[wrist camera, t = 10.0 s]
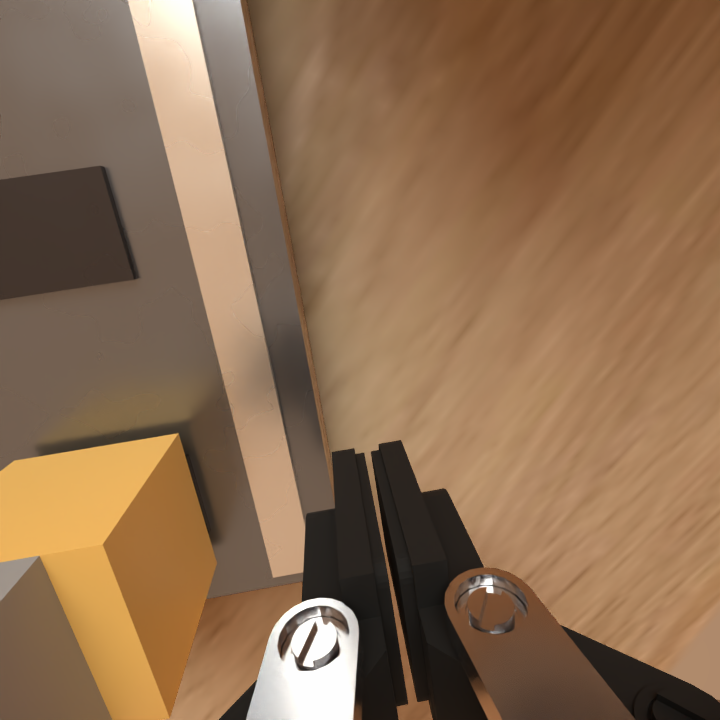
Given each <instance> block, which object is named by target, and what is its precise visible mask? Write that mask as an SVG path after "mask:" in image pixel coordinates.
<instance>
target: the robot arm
mask: <svg viewBox="0 0 720 720" xmlns="http://www.w3.org/2000/svg"><path fill="white" fill-rule="evenodd" d="M371 456H372V462H373V468H374V475H375V481H376V488H377V494H378V501H379V507H380V513H381V520H382V526H383V533H384V539H385V545H386V551H387V557H388V562H389V566H390V571H391V576H392V581H393V586H394V591H395V596H396V600H397V605H398V610H399V615H400V620H401V625H402V630H403V634H404V639H405V644H406V649H407V654H408V659H409V664H410V669H411V673H412V678H413V683H414V688H415V693H416V697H417V701H418V702H421V701H426V700H429V704H430V709H431V713H432V717H433V720H720V700H716V699H715V698H713V697H712V696H711V695H709V694H707V693H706V692H704V691H702V690H700V689H699V688H697V687H695V686H693V685H691V684H689V683H687V682H685V681H683V680H681V679H678V678H676V677H674V676H672V675H670V674H667V673H665V672H663V671H661V670H659V669H656V668H654V667H652V666H650V665H647V664H645V663H643V662H641V661H639V660H636V659H634V658H632V657H630V656H628V655H625V654H623V653H621V652H619V651H617V650H614V649H612V648H610V647H608V646H606V645H603V644H601V643H599V642H597V641H595V640H592V639H590V638H588V637H586V636H584V635H581V634H579V633H577V632H575V631H572V630H570V629H568V628H566V627H564V626H561V625H560V624H559V623H558V622H557V621H556V619H555V618H554V617H553V616H552V614H551V613H550V612H549V611H548V609H547V608H546V607H545V606H544V604H543V603H542V602H541V601H540V599H539V598H538V597H537V596H536V594H535V593H534V592H533V591H532V589H531V588H530V587H529V586H528V585H527V584H526V583H525V582H523V581H522V580H521V579H520V578H518V577H516V576H515V575H513V574H511V573H509V572H506V571H503V570H499V569H496V568H484V566H483V564H482V562H481V560H480V558H479V556H478V554H477V552H476V550H475V548H474V545H473V543H472V541H471V539H470V537H469V535H468V533H467V531H466V529H465V527H464V525H463V523H462V521H461V519H460V517H459V514H458V512H457V510H456V508H455V506H454V504H453V502H452V500H451V498H450V496H449V494H448V492H447V490H446V489H439V490H433V491H428V492H422V493H421V491H420V488H419V486H418V483H417V481H416V478H415V475H414V473H413V470H412V468H411V465H410V462H409V460H408V457H407V454H406V452H405V449H404V447H403V444H402V442H401V440H399V441H393V442H388V443H382V444H379V450H377V451H371ZM332 463H333V482H334V500H335V508H333V509H328V510H322V511H317V512H311V513H307V514H306V524H305V545H304V566H303V587H302V603H300V604H298V605H296V606H294V607H293V608H292V609H290V610H289V611H288V612H286V613H285V614H284V615H283V616H282V617H281V618H280V620H279V621H278V622H277V623H276V625H275V626H274V628H273V630H272V633H271V635H270V637H269V640H268V643H267V647H266V651H265V654H264V658H263V661H262V665H261V668H260V672H259V675H258V679H257V680H256V681H255V682H254V683H253V684H252V686H251V687H250V688H249V689H248V690H247V691H246V692H245V693H244V694H243V695H242V696H241V697H240V698H239V699H238V700H237V701H236V702H235V703H234V704H233V705H232V706H231V707H230V708H229V709H228V711H227V712H226V713H225V714H224V715H223V716H222V717H221V718H220V719H219V720H398V713H397V707H396V706H401V705H406V704H408V700H407V693H406V687H405V681H404V674H403V668H402V662H401V655H400V649H399V643H398V636H397V630H396V624H395V617H394V611H393V605H392V598H391V592H390V586H389V580H388V574H387V568H386V563H385V557H384V552H383V547H382V542H381V537H380V532H379V527H378V522H377V517H376V512H375V506H374V501H373V496H372V491H371V486H370V481H369V476H368V471H367V466H366V461H365V456H364V453H360V454H355V450H354V448H353V449H348V450H342V451H336V452H332Z"/></svg>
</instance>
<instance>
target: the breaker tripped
mask: <svg viewBox="0 0 720 720" xmlns="http://www.w3.org/2000/svg"><path fill="white" fill-rule="evenodd" d="M216 565H217V561H216V558H215V555H214V551H213V548H212V544H211V541H210V538H209V534H208V531H207V528H206V524H205V521H204V517H203V514H202V511H201V507H200V504H199V501H198V497H197V494H196V490H195V487H194V484H193V480H192V477H191V474H190V470H189V467H188V463H187V460H186V457H185V453H184V450H183V446H182V443H181V440H180V436H179V433H177V434H171V435H165V436H159V437H153V438H147V439H141V440H135V441H129V442H123V443H117V444H111V445H105V446H99V447H93V448H87V449H81V450H75V451H69V452H63V453H57V454H51V455H45V456H39V457H33V458H27V459H21V460H15V461H13V462H12V463H10V464H9V465H8V466H7V467H5V468H4V469H3V470H1V471H0V720H163V719H168V718H170V716H171V712H172V709H173V706H174V703H175V699H176V696H177V693H178V689H179V686H180V683H181V680H182V676H183V673H184V670H185V667H186V663H187V660H188V657H189V653H190V650H191V647H192V644H193V640H194V637H195V634H196V630H197V627H198V624H199V621H200V617H201V614H202V611H203V607H204V604H205V601H206V598H207V594H208V591H209V588H210V585H211V581H212V578H213V575H214V571H215V568H216Z"/></svg>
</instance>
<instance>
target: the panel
mask: <svg viewBox="0 0 720 720" xmlns="http://www.w3.org/2000/svg"><path fill="white" fill-rule="evenodd" d="M177 433H179V436H180V440H181V443H182V446H183V450H184V453H185V457H186V460H187V463H188V467H189V470H190V474H191V477H192V480H193V484H194V487H195V490H196V494H197V497H198V501H199V504H200V507H201V511H202V514H203V517H204V521H205V524H206V528H207V531H208V534H209V538H210V541H211V544H212V548H213V551H214V555H215V558H216V561H217V565H216V568H215V571H214V575H213V578H212V581H211V585H210V588H209V591H208V594H207V598H206V599H209V598H215V597H220V596H226V595H231V594H237V593H242V592H247V591H253V590H258V589H264V588H269V587H275V586H280V585H286V584H291V583H297V582H302V581H303V566H304V545H305V524H306V514H307V513H311V512H317V511H322V510H328V509H333V508H335V500H334V482H333V467H332V462H331V456H330V451H329V445H328V440H327V434H326V429H325V424H324V418H323V413H322V407H321V402H320V396H319V391H318V385H317V380H316V374H315V369H314V364H313V358H312V353H311V347H310V342H309V336H308V331H307V325H306V320H305V314H304V309H303V304H302V298H301V293H300V287H299V282H298V276H297V271H296V265H295V260H294V254H293V249H292V244H291V238H290V233H289V227H288V222H287V216H286V211H285V205H284V200H283V194H282V189H281V184H280V178H279V173H278V167H277V162H276V156H275V151H274V145H273V140H272V134H271V129H270V124H269V118H268V113H267V107H266V102H265V96H264V91H263V85H262V80H261V74H260V69H259V64H258V58H257V53H256V47H255V42H254V36H253V31H252V25H251V20H250V14H249V9H248V4H247V0H0V471H1V470H3V469H4V468H5V467H7V466H8V465H9V464H10V463H12V462H13V461H15V460H21V459H27V458H33V457H39V456H45V455H51V454H57V453H63V452H69V451H75V450H81V449H87V448H93V447H99V446H105V445H111V444H117V443H123V442H129V441H135V440H141V439H147V438H153V437H159V436H165V435H171V434H177Z"/></svg>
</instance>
